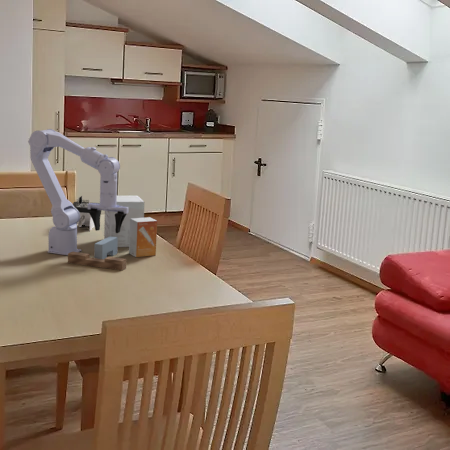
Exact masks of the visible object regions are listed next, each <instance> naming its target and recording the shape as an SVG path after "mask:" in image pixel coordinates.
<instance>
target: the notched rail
mask: <svg viewBox="0 0 450 450" xmlns="http://www.w3.org/2000/svg"><path fill="white" fill-rule="evenodd" d="M67 263H68V264H73V265H74V264H75V265H80V266H81V265H82V266H88V267H95V268H103V269H108V270H115V271H117V270H118V271H124V270H126V269H127V258H121V257H114V256H107V258H105V259H98V258H94V257H90V253H86V252H70V253H68V255H67Z"/></svg>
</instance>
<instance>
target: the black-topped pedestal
mask: <svg viewBox="0 0 450 450" xmlns="http://www.w3.org/2000/svg"><path fill="white" fill-rule="evenodd" d="M89 203H91V199H83V195H81V196H79V197H77V201H74V202H72V204H73V206H74V207H75V208H76V209H77V210H78V211H79V213H80V220H79V222H78V223H77V227H78V228H79V227H81V228H82V227H83V226H82V225H85V226H84V227H89V231H90V230H91V231H92V230H93V229H95V226H94V222H93V220H92V217H91V215H90V214H89V211H90V210H91V209H88V204H89ZM92 228H93V229H92Z"/></svg>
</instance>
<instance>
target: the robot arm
mask: <svg viewBox="0 0 450 450" xmlns="http://www.w3.org/2000/svg"><path fill="white" fill-rule="evenodd" d="M27 142H28V144H29V150H30V151H29V153H30V154H29V155H30V156H29V157H30V161H31V163H32V165H33V168H34V170H35V171H36V173H37V176H38V178H39V180H40V182H41V184H42V186H43V189H44V190H45V194H46V195H47V196H48V200H49V201H50V203H51V209H50V212H51V216H52V223H53V226H52V227H51V228H50V229H49V231H48V236H47V237H48V250H47V252H46V253H48V254H56V255H63V256H68V253H70V252H79V253H81V252H82V249H80V248H78V222H79V220H80V213H79V211H78V210H77V209H76V208H75V207H74V206H73V202H71V201H70V200H69V199H67V196H66V194H65V192H64V190H63V188H62V186H61V184H60V182H59V179H58V177H57V175H56V173H55V171H54V169H53V167H52V165H51V162H50V161H49V156H50V154H51V152H52V151H53V149H55V148H61V149H63V150H66V151H68V152H70V153H72V154H74V155H76V156H78V157H80V158H79V159H80V161H81V162H82V163H84V164H86V165H87V166H89V167H91V168H93V169H94V170H96V171H97V172H98V173H99V174H100V181H99V182H100V184H99V185H100V186H99V187H100V188H99V202H90V203H89V204H88V209H91V210H90V211H89V214H90V215H91V217H92V220H93V222H94V226H95V227H94V230H95V231H96V232H98V231H99V230H101V215H102V211H104V212H105V211H112V212H118V213H116V214H115V221H116V229H115V231H116V233H119V232H120V229H121V225H122V222H123V220H124V218H125V216H126V215H127V213H129V207H124V206H119V205H117V196H118V172H119V171H120V169H121V163H120V162H119V160H118V159H116V157H114V156H110V157H109V155H108V154H106V153H105V154H104V153H102V152H100V151H98V150H97V147H95V146H91V147H90V146H87V147H83V146H82V145H80V144H79V143H77V142H75V141H73V140H72V139H70V138H69V137H67V136H66V135H64V134H62V133H61V132H60V131H56V130H55V129H52V128H47V129H44V130H43V129H42V130H34V131H32V133H31V134H30V137H29V138H28V141H27Z"/></svg>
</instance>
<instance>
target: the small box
mask: <svg viewBox="0 0 450 450" xmlns="http://www.w3.org/2000/svg"><path fill="white" fill-rule="evenodd" d="M157 234H158V220H157V219H154V218H152V217H150V216H148V217H144V218H133V219H130V234H129V247H128V253H129V254H130V255H132V256H133V257H135V258H140V257H142V258H143V257H151V256H156V255H157V237H158V235H157Z"/></svg>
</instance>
